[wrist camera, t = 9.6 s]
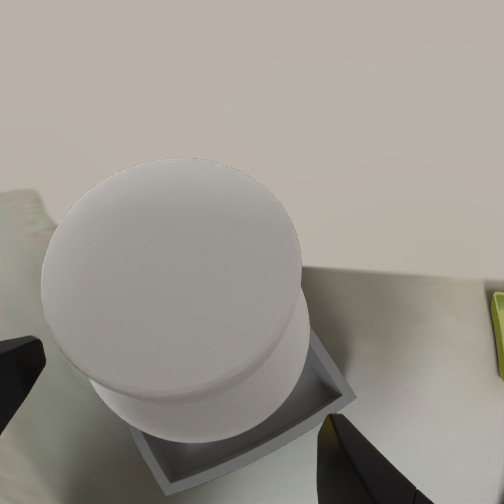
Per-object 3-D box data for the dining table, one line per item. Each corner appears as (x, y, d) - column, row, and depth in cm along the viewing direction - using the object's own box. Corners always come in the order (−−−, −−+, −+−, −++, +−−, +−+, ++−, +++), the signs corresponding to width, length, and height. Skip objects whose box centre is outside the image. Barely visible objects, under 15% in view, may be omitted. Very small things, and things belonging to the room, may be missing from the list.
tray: (338, 400, 15) (356, 397, 13) (176, 483, 12) (166, 496, 9) (250, 263, 20) (252, 238, 18) (104, 328, 17) (85, 312, 14)
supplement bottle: (287, 344, 16) (389, 190, 6) (241, 444, 13) (273, 540, 2) (187, 299, 17) (135, 111, 7) (136, 391, 14) (-38, 313, 3)
